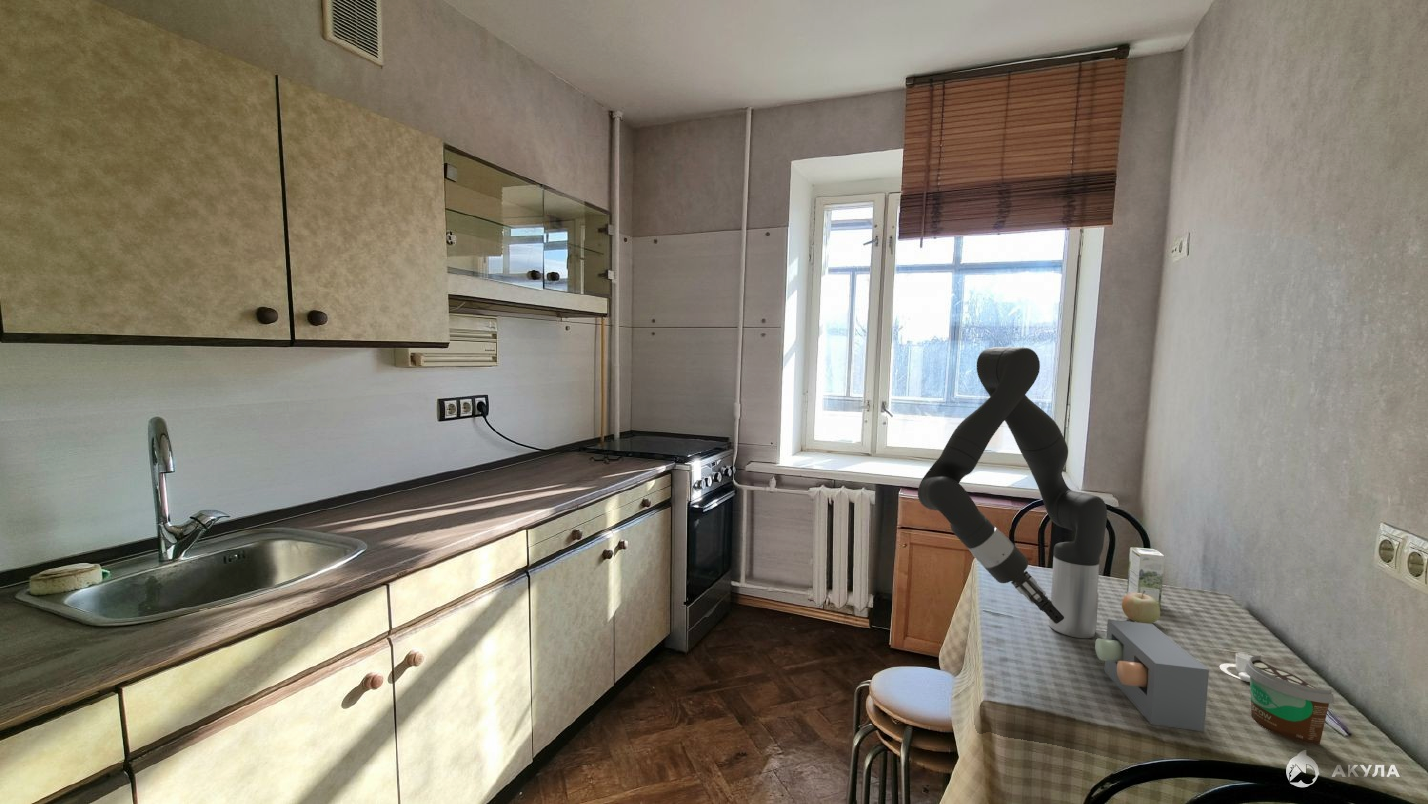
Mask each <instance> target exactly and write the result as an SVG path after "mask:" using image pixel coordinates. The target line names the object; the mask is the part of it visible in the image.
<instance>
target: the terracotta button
mask: <svg viewBox="0 0 1428 804" xmlns="http://www.w3.org/2000/svg"><path fill="white" fill-rule="evenodd" d="M1148 671H1149V668H1148V667H1147V666H1145V665H1144V664H1143V663H1136V662H1127V661H1119V662H1118V663H1117V675H1118V678H1119V680H1120V682H1121V683H1122V684H1123V685H1131V686H1139V687H1147V685H1148Z"/></svg>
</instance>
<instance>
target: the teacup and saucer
mask: <svg viewBox="0 0 1428 804" xmlns="http://www.w3.org/2000/svg"><path fill="white" fill-rule="evenodd" d="M1253 656H1254V655H1250V654H1247V653H1243V652H1235V663H1221V664H1220V665H1219V669H1220V670H1221V671H1222V672H1223V673H1225V674H1226V675H1228V676H1230V677H1233V678H1235V679H1237V680H1240V681H1243V682H1247V683H1250V676H1249V675H1248V674H1247V673H1246V671H1245V667H1246V665H1247V662H1248V661H1249V660H1250V658H1251V657H1253ZM1228 668H1236V669H1235V670H1236V672H1237V673H1238V676H1237V675H1235V674H1233V673H1232V672H1230V671H1229V670H1228Z"/></svg>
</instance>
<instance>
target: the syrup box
mask: <svg viewBox="0 0 1428 804" xmlns="http://www.w3.org/2000/svg"><path fill="white" fill-rule="evenodd" d="M1128 559H1129V560H1128V572H1127V584H1126V585H1127V586H1126V595H1127V594H1130V593H1142V594H1143V590H1144V591H1145V593H1144V594H1145V595H1148V596H1150V597H1152V598H1154V599H1155V600H1156V601H1157V603H1158V604H1159V607H1160V608H1161V603H1162V595H1163V594H1162V593H1163V591H1162V590H1163V581H1164V568H1165V559H1166V558H1165V555H1164V554H1163V553H1161V552H1160V551H1159V550H1157V549H1154V548H1143V547H1132V546H1131V547H1130V548H1129V557H1128Z"/></svg>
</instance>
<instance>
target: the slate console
mask: <svg viewBox="0 0 1428 804" xmlns="http://www.w3.org/2000/svg"><path fill="white" fill-rule="evenodd" d="M1106 624H1107V625H1106V636H1105V637H1106V638H1105V639H1109V640H1117V641H1120V642H1121V643H1122V644H1124V649H1123V661H1127V662H1136V663H1143V664H1144V665H1145V666H1147V667H1148V668H1149V671H1148V685H1147V687H1139V686H1131V685H1123V684H1122V683H1121V682H1120V680H1119V678H1118V675H1117V663H1118V662H1113V661H1104V668H1103V669H1104V670H1103V671H1104V672H1105V674H1106V675H1107V677H1109V678H1110V679H1111V681H1112V682H1113V683H1114V684H1115V685H1116V686H1117V688H1118V689H1120V691H1121V692H1122V694H1124V695H1125V697H1127V699H1128V700H1129V701H1130V702H1131V704H1133V706H1135V708H1137V710H1138V711H1139V713H1141V714H1142V716H1143V717H1144V718H1145V719H1146V720H1147V722H1148V723H1150V725H1153V726H1154V725H1155V726H1162V727H1169V728H1177V729H1183V730H1190V731H1197V732H1205V726H1206V716H1207V714H1206V713H1207V702H1208V690H1209V689H1208V688H1209V675H1210V669H1209V668H1208V667H1207V666H1206V665H1204V664H1203V663H1201V662H1200V661H1199V660H1197V658H1195V657H1194V656H1193V655H1192V654H1190V653H1189V652H1188V651H1186V649H1184V648H1183V647H1181V646H1180V645H1179V644H1178V643H1176V642H1175V641H1174V640H1173V639H1172V638H1171V637H1169V636H1168V635H1167V634H1165V633H1164V632H1163V631H1162V630H1160V629H1159V628H1158V627H1157V626H1156V625H1154V623H1152V624H1148V623H1138V622H1135V621H1125V620H1118V619H1111V618H1110V619H1107V623H1106Z"/></svg>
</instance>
